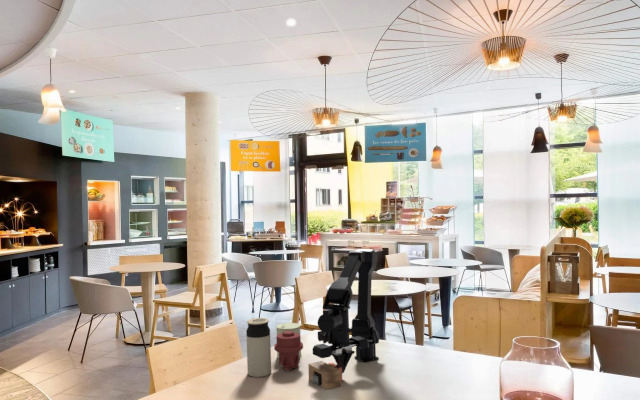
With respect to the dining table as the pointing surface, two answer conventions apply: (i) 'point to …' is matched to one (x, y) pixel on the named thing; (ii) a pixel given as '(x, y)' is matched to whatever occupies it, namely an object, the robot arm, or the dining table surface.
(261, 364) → the travel mug
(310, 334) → the dining table surface
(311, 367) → the block
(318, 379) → the pin
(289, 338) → the mechanical component
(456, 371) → the dining table surface
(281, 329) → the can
